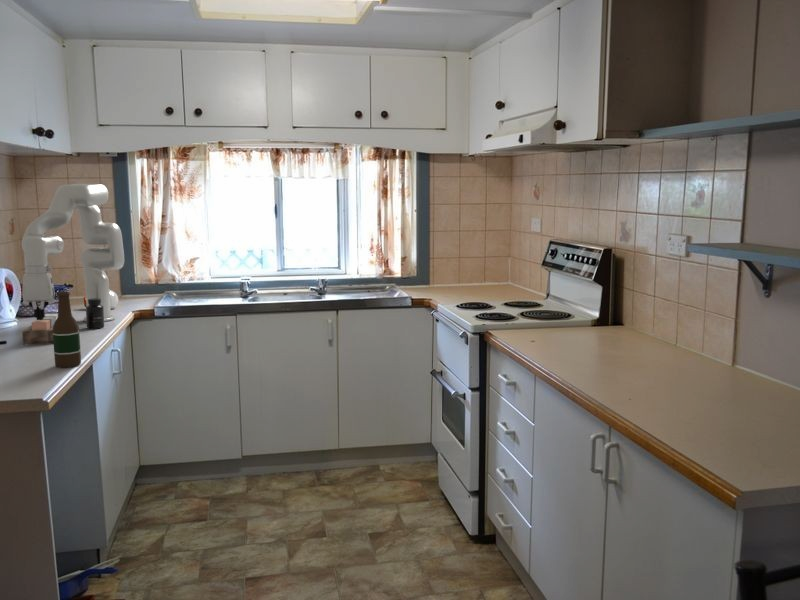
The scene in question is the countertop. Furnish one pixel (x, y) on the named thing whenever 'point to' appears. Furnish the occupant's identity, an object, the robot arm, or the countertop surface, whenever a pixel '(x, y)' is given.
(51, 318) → the slate key
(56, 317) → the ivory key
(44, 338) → the key console
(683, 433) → the countertop surface
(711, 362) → the countertop surface
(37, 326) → the terracotta key
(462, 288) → the countertop surface
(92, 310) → the supplement bottle
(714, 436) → the countertop surface
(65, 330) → the beer bottle
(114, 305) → the potion bottle
